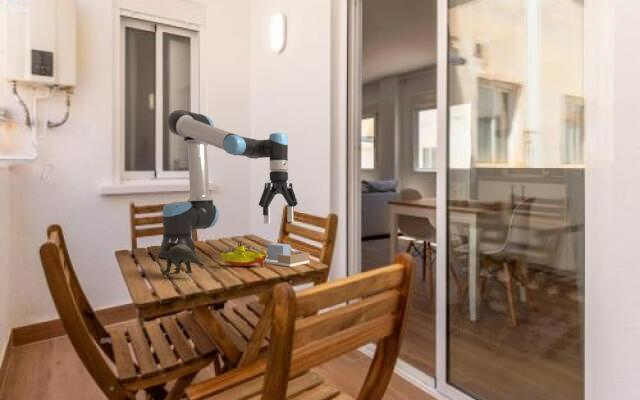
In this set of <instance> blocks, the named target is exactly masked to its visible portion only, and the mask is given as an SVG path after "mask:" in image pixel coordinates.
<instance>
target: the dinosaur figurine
mask: <svg viewBox="0 0 640 400" xmlns="http://www.w3.org/2000/svg"><path fill="white" fill-rule="evenodd" d="M177 241H178V238H177V240H176V241H175V242H171V241H170V240H169V242H168V243H166V244H164V246H163V247H162V248H163V249H162V250H163V251H164V252H167V251H168V253H167V255H166V258H165V261H166V269H165V270H164V271H163V273H164V274H165V273H166V274H167V273H168V274H169V273H170V272H171V267H172V264H173V265H174V266H175V268H174V271H173V272H172V274H174V275H178V274H181V269H182V268H181V266H182V264H184V265H185V266H186V270H185V272H184V273H185V274H192V273H193V271H192V267H191V263H192V264H196V265H199V266H201V267H203V266H204V265H205V264H204V263H203V262H202V261H201V260H199V258H198V257H197V256H196V255H194V253H193V252H192V250H191V249H190V248H189V247H187V246H185V245H182V244H180V245H179V244H177Z"/></svg>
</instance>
